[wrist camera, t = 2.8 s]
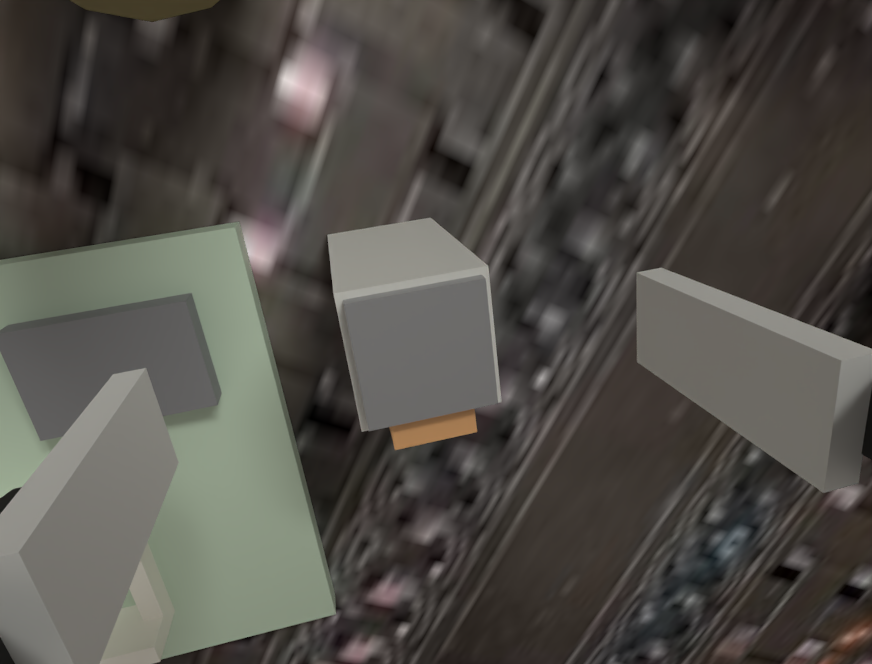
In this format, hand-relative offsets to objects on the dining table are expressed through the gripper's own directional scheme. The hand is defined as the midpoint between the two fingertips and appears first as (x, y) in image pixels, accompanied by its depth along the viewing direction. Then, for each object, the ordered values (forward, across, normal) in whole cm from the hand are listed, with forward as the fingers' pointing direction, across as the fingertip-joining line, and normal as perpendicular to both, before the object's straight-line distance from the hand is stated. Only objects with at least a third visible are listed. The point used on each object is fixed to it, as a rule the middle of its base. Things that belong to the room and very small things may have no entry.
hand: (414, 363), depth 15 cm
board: (+8, -13, -6) cm, 16 cm away
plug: (+8, 0, 0) cm, 8 cm away
